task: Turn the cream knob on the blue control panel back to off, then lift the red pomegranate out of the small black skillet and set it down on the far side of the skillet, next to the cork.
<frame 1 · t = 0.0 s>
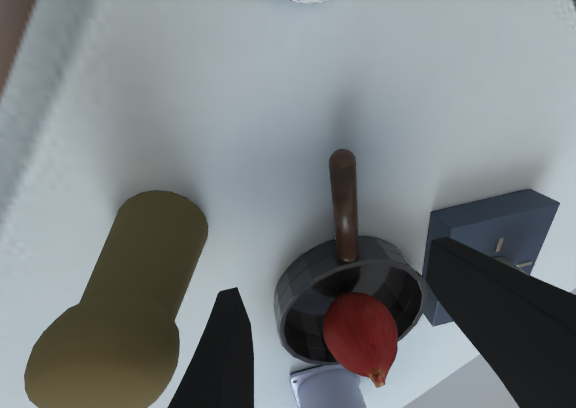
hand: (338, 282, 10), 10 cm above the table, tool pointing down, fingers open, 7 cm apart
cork: (164, 227, 19), on the table
skillet handle: (345, 211, 18), point 2 cm above the table
hob knob: (508, 289, 22), point 4 cm above the table, hinge at 90.0°
skillet: (342, 292, 25), on the table
blue control panel: (468, 253, 26), on the table
red pomegranate: (342, 293, 25), resting on skillet
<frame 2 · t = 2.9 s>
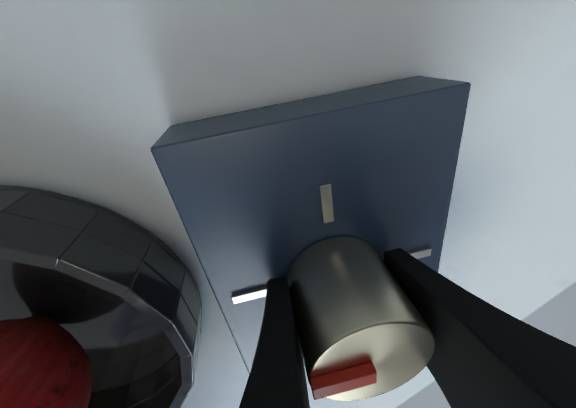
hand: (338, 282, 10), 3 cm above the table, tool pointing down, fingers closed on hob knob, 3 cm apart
hob knob: (351, 316, 9), point 4 cm above the table, hinge at 90.1°, touching gripper
skillet: (51, 314, 12), on the table
blue control panel: (316, 234, 12), on the table
red pomegranate: (50, 316, 12), resting on skillet
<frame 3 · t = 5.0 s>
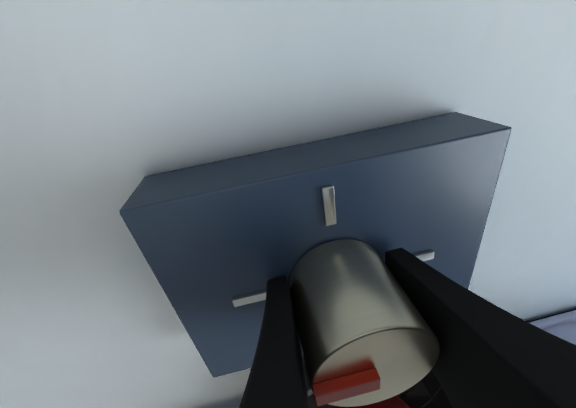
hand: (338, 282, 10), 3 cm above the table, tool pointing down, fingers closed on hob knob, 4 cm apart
hob knob: (354, 320, 9), point 4 cm above the table, hinge at 0.2°, touching gripper
skillet: (349, 374, 19), on the table
blue control panel: (317, 237, 12), on the table
red pomegranate: (349, 376, 19), resting on skillet
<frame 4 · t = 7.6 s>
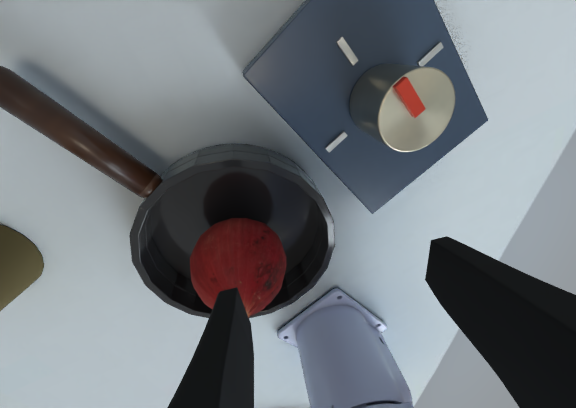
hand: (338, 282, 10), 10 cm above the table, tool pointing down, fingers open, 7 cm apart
skillet handle: (82, 140, 14), point 2 cm above the table
hob knob: (398, 106, 13), point 4 cm above the table, hinge at 0.0°
skillet: (239, 228, 20), on the table
blue control panel: (361, 94, 17), on the table
red pomegranate: (239, 228, 20), resting on skillet
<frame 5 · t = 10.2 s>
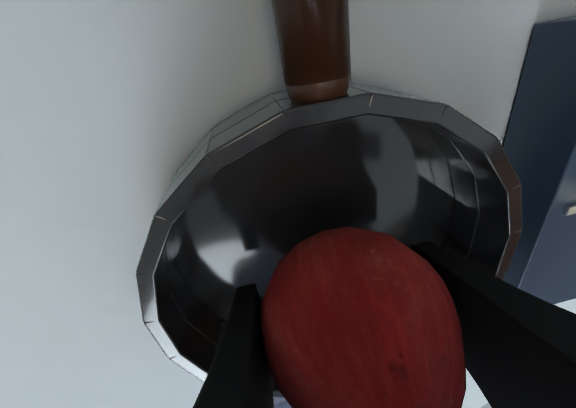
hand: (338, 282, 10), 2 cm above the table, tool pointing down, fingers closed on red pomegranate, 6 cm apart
skillet: (320, 242, 12), on the table
red pomegranate: (320, 244, 12), resting on skillet, touching gripper
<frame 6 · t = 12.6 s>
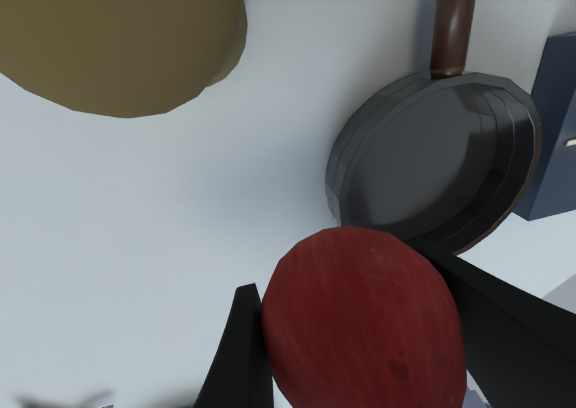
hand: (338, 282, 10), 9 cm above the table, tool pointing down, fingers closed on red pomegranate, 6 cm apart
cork: (184, 20, 13), on the table
skillet: (413, 171, 19), on the table
red pomegranate: (320, 243, 12), point 7 cm above the table, touching gripper
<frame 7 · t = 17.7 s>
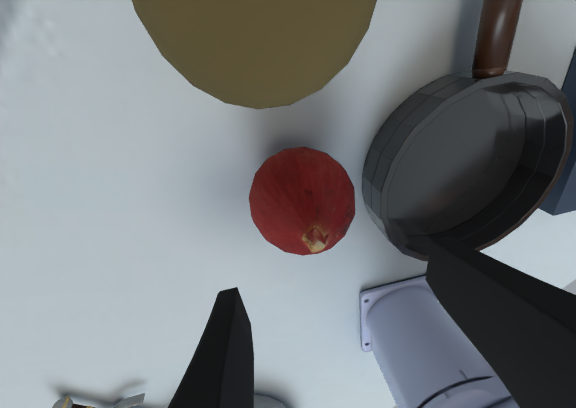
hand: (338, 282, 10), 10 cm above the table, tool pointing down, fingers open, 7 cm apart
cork: (245, 21, 14), on the table
skillet: (444, 167, 20), on the table
red pomegranate: (289, 173, 18), on the table
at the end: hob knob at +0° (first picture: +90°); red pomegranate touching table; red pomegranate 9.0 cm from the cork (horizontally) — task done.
